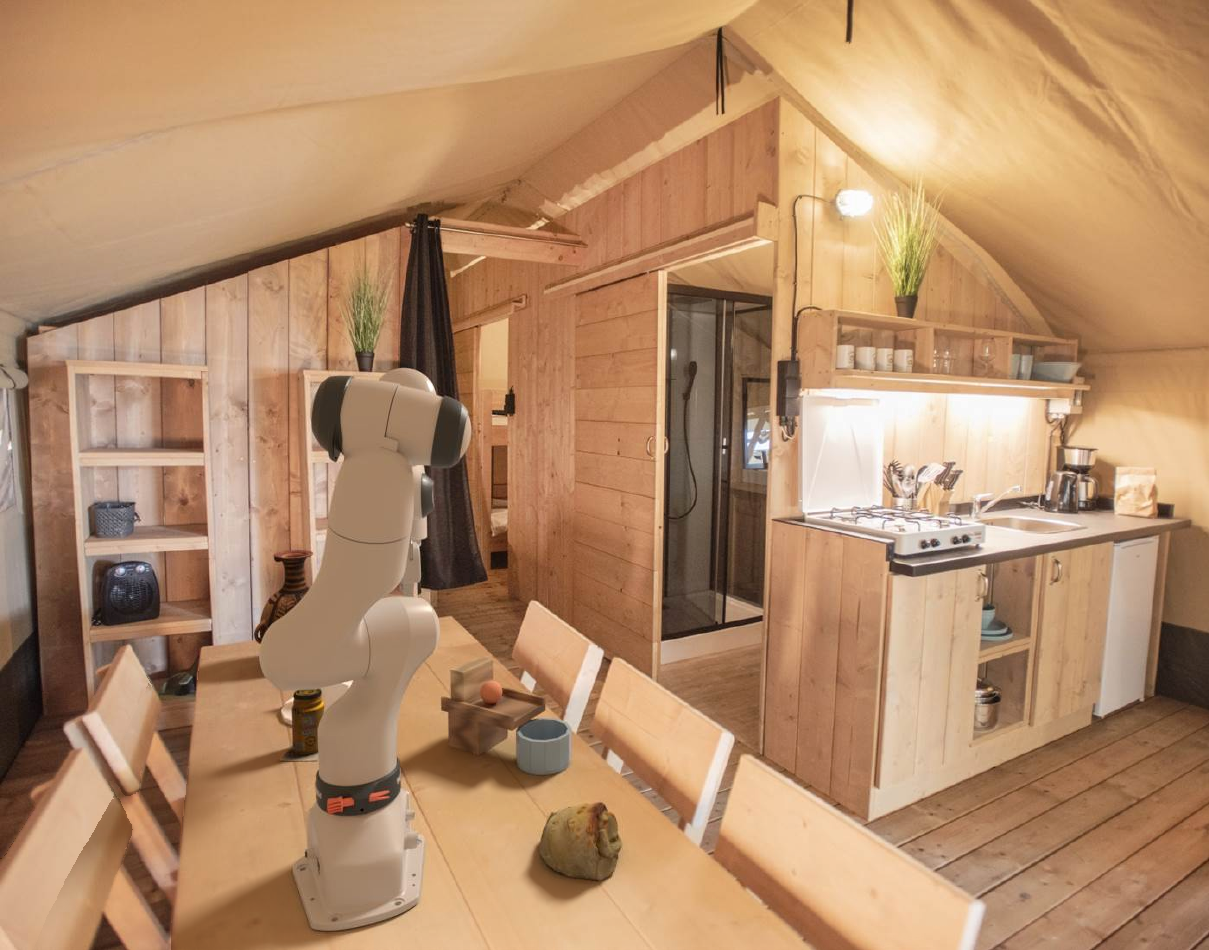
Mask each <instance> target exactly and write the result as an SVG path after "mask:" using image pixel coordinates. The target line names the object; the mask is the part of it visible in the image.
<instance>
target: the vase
mask: <svg viewBox="0 0 1209 950" xmlns="http://www.w3.org/2000/svg"><path fill="white" fill-rule="evenodd" d="M313 555H314V552H313V551H311V550H304V549H293V550H284V551H278V552H277V553H274V554H273V559H274V561H275V562H276V563H280V562H281V563H282V565H283V568H284V582H283V585H282V587H281V588H280V589H279V590H277V591H276V592H275V593H274V594H272V595H271V596H270V597H269V598H268V600H267V601H266V603H265V605H264V607H263V609H262V611H261V615H260V621H259V623H257V626H256V628H255V629H254V632H253V637H254V640H255V642H256V643H257V644H259V645H261V641H262V639H263V636H264V635H265V633H266V631H267V630H268V628H269V627H270V626H271V624H272V623H274V622H275V621H277V620H278V619H280V618H282V617H283V616H284V615H285V614H287V613H288V612H289V611H290V610H291V609H293V608H294V607H295V606H296V605H297V604H298V603H299V602H300V600H301V599H302V598H303V597H304V596H305V594H306V593H307V592H308V590H309V589H310V587H309V585H308V584H307V582H306V578H305V572H304V571H305V569H304V566H305V561H306V560H307V558H310V557H312V556H313Z"/></svg>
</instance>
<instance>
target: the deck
mask: <svg viewBox="0 0 1209 950" xmlns="http://www.w3.org/2000/svg"><path fill="white" fill-rule="evenodd" d="M501 687H502V696H501V698H500V699H499V700H498V701H497V702H495V703H492V704H490V703H486V702H485V701H483V699H482V698H481V699H479V700H477V701H475V702H473V703H471V704H469V703H466V702H462V701H458V700H455V699H451V697H446V696H441V697H440V707H441V708H440V710H441V711H442V712H446V713H447V723H448V726H447V727H448V729H447V730H448V734H447V735H448V747H451V748H454V749H458V750H461V751H463V752H467V753H470V754H474V755H477V756H480V755H482V754H484V753H485V752H487V751H488V750H490V749H492V748H493V747H495V746H497V745H498V744H500V743H501V742H500V741H502V742H504V741H505V740H506V739H508V738H509V735H508V734H509V733H508V731H511V732H512V731H514V730H515V729H516V730H517V728H518V727H519V726H521V725H523V724H524V723H526V722H527V721H529V720H532V719H535V718H536V717H538V716H539V715H540V714H542V713H544V712H545V711H546V697H545V696H540V695H538V694H533V693H528V692H526V691H522V690H517V689H513V688H509V687H504V686H503V685H502V686H501ZM507 737H508V738H507ZM504 739H505V740H504ZM499 742H500V743H499ZM496 744H497V745H496Z"/></svg>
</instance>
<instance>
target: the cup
mask: <svg viewBox="0 0 1209 950" xmlns="http://www.w3.org/2000/svg"><path fill="white" fill-rule="evenodd" d="M572 745H573V744H572V726H570V724H569V722H567V721H564V720H561V719H559V718H555V717H554V718H553V717H552V718H551V717H539V718H532V719H531V720H529V721H527V722H526V723H524V724H523V725H521V726H519V727H518V728H516V730H515V760H516V762H517V763H516V764H517V767H518V768H519V769H520V770H521V771H522V772H524V773H525V774H529V775H532V776H533V775H534V776H549V775H550V776H551V775H555V774H558V773H561V772H564V771H565V770H567V769H568V768H569V766H570V765H571V758H572V756H573V755H572V754H573V753H572V752H573V751H572Z"/></svg>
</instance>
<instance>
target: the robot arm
mask: <svg viewBox="0 0 1209 950" xmlns="http://www.w3.org/2000/svg"><path fill="white" fill-rule="evenodd" d="M312 398H313V399H312V401H311V403H310V409H309V410H310V412H309V415H310V416H309V418H310V423H311V427H310V428H311V432H312V434H313V436H314V438H315V440H316V441H317V443H318V445H320V447H322V448H323V450H325V451H326V452H327V454H328V458H329V459H330V461H332V462H334V463H337V461H338V460H339V457H340V456H341V455H342V456H343V461H342V463H341V464H340V465H341V466H340V468H339V471H338V473H337V476H336V481H335V484H334V486H333V487H334V488H333V492H332V496H331V500H330V507H329V512H328V520H327V528H326V536H325V541H324V542H325V543H324V548H323V554H322V557H321V558H322V559H321V564H320V567H319V571H318V573H317V575H316V577H315V579H314V581H313V583H312V584H311V586H310V587H309V588H310V589H309V590H308V592H307V593H306V594H305V596H304V597H303V598H302V599H301V600H300V602H299V603H298V604H297V605H296V606H295V607H294V608H293V609H291V610H290V611H289V612H288V613H287V614H285V615H284V616H283V617H282V618H280V619H278V620H277V621H275V622H274V623H272V624H271V626H270V627H269V628H268V630H267V631H266V633H265V635H264V636H263V639H262V641H261V644H259V651H258V652H259V653H258V661H259V664H260V665H259V666H260V669H261V671H262V673H263V675H264V677H265V678H266V681H268V682H269V684H271V685H272V686H273V687H274V688H276V689H278V690H279V691H282V692H286V691H288V692H289V691H294V692H295V691H297V690H313V689H319V688H323V687H327V686H332V685H336V684H340V683H344V682H348V681H352V680H353V682H352V684H351V686H350V687H349V689H348V690H347V692H346V693H345V694H344V695H343V696H342V697H341V698H340V699H339V700H337V701H336V702H335V703H334V704H332V705H331V706H330V707H329V708H328V709H327V710H326V712H325V713H324V715H323V716H322V718H321V720H320V723H319V726H318V760H317V761H318V770H317V771H316V775H315V782H314V789H315V799H316V801H315V802H314V804H313V805H312V806H311V807H310V808H309V809H308V810H307V812H306V819H305V820H306V822H305V824H306V849H305V851H304V856H302V857H300V858H299V859H297V860H296V861H295V862H294V863H293V864H292V875H293V878H294V881H295V885H296V887H297V890H298V893H299V896H300V899H301V902H302V905H303V909H304V911H305V914H306V916H307V921H308V923H309V926H310V928H311V929H312V930H316V931H326V932H327V931H329V932H330V931H341V930H342V931H343V930H348V929H355V928H358V927H363V926H367V925H371V924H374V923H378V922H382V921H385V920H388V919H390V918H393V917H395V916H397V915H400V914H402V913H404V912H406V911H408V910H410V909H411V908H412V907H414V906H415V905H417V904H418V903H419V902H420V899H421V890H422V879H423V871H424V870H423V867H424V859H425V848H426V840H425V836H424V835H423V834H422V833H421V834H420V833H419V832H418V830H415V828H411V827H412V825H411V821H414V820H415V819H414V817H415V810H414V809H411V802H410V799H411V797H410V792H409V791H408V790H406V789H405V788H403V787H402V780H401V779H402V769H401V768H402V767H400V766H401V763H400V759H399V757H397V756H398V750H397V748H398V747H397V745H398V743H397V742H398V739H397V737H398V723H399V722H398V721H399V720H398V719H399V713H400V709H401V708H400V707H401V704H402V701H403V699H404V695H405V693H406V690H407V688H408V686H409V684H410V682H411V681H412V679H413V677H414V676H415V674H416V673H417V671H418V669H419V668H421V666H422V665H423V664H424V663H425V662H426V661H427V660H428V659H429V658H430V657H431V656H432V655H433V653H434V652H435V650H436V648H437V647H438V646H437V645H438V644H439V640H440V635H441V627H440V620H439V616H438V614H437V612H436V610H435V608H434V607H433V606H432V605H431V603H430V602H428V601H427V600H426V599H424V598H422V597H417V596H415V597H414V588H415V584H417V583H420V582H421V579H422V572H421V571H422V570H421V551H420V547H421V545H422V540H425V539H427V538H428V520H427V519H428V517H427V516H429V514H430V513H431V512H432V511H433V510H434V509H435V508H436V507H435V502H434V485H435V481H434V480H433V479H432V478H431V477H429V476H428V475H427V474H426V472H425V466H430V468H431V469H449V468H453V467H454V466H456V465H457V464H459V463H460V460H461V458H462V457H463V456H464V455H465V454H466V451H467V450H468V448H469V446H470V443H471V438H472V423H471V419H470V416H469V410H468V409H467V407H466V406H465V405H464V403H462V402H461V401H459V400H457V399H455V398H452V397H450V396H447V395H444V396H440V395H438V394H437V391H436V390H435V386H434V384H433V382H432V381H431V380H430V379H429V377H428V376H426V375H425V374H424V373H422V372H420V371H419V370H417V369H414V368H409V367H408V368H407V367H401V368H400V367H399V368H393V369H392V370H389V371H388V372H386V373H384V374H382V376H380V378H379V379H378V380H377V379H367V378H355V376H354V375H331V376H328V377H326V379H324V380H323V381H321V382H320V384H319V386H318V388H317V390H316V392H315V394H314V395H313V397H312ZM397 586H399V590H400V592H401V593H403V596H389V597H386V596H387V595H389V594H390V593H391V592H393V591H394V590H395V589H396V588H397Z"/></svg>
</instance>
